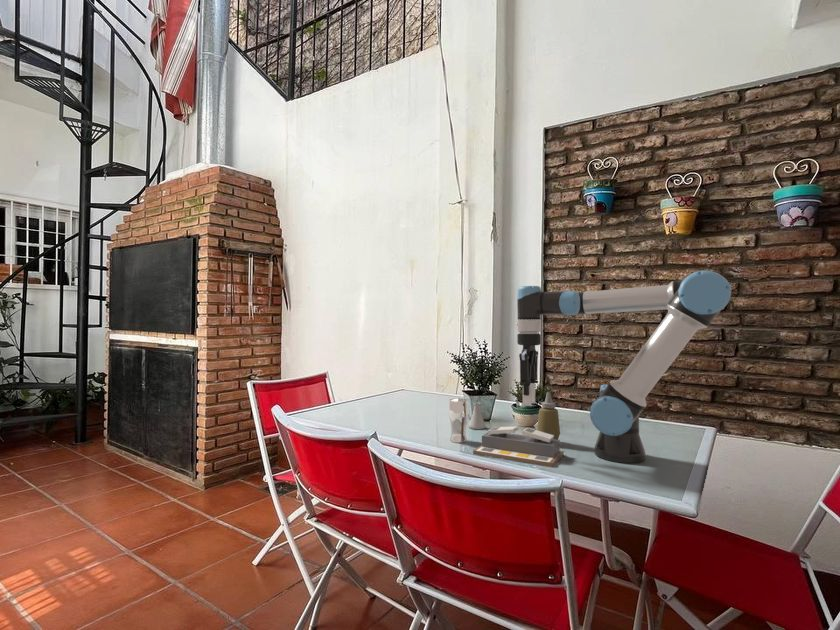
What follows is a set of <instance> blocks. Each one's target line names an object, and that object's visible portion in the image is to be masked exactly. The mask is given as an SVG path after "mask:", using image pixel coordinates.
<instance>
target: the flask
mask: <svg viewBox="0 0 840 630" xmlns="http://www.w3.org/2000/svg"><path fill="white" fill-rule="evenodd" d="M481 406H482V402H473V412H472V415H471V418H470V421H469V424H468V428H469V429H472V430H482V429H483V430H484V429H486V428H487V426H486V423H485V419H484V418H483V414H482V410H481Z"/></svg>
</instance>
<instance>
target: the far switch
mask: <svg viewBox="0 0 840 630" xmlns="http://www.w3.org/2000/svg"><path fill="white" fill-rule="evenodd" d="M518 430H519V426H518V425H516V426H514V425H513V426H497V427H492V428H489V429H488V430H487V433H488V434H503V433H511V434H515V432H517V431H518Z"/></svg>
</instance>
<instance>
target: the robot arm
mask: <svg viewBox="0 0 840 630" xmlns="http://www.w3.org/2000/svg"><path fill="white" fill-rule="evenodd" d="M731 296H732V288H731V284H730V282H729V281H728V279H727V278H725V277H724V276H723V275H722V274H720V273H718V272H715V271H714V270H713V271H712V270H698V271H695V272H694V271H693V272H692V273H691V274H688V275H687V276H686V277H684V278H683V279H681V280H673V281H671V282H670V283H669V284H662V285H650V286H639V287H637V286H636V287H627V288H626V287H625V288H615V289H603V290H592V291H591V290H589V291H574V290H572V291H571V290H562V291H559V290H558V291H542V288H541V286H540V285H522V286H520V287H519V288H518V289H517V299H516V301H517V304H516V305H517V307H516V308H517V322H516V323H515V325H516V326H517V335H516V337H517V340H516V341H517V345H520V346H522V350H521V353H519V355H518V357H519V379H520V380H519V381H520V382H519V385H520V386H522V406H530V407H531V406H532V404H536V384H538V383H539V381H538V367H539V365H538V363H539V361H538V360H539V351H537V350H536V346H541V345H542V335H541V331H542V324H541V323H542V320H541V319H542V315H543V316H550V315H551V316H552V315H553V316H556V315H557V316H575V315H589V314H590V315H591V314H592V315H593V314H606V313H607V314H608V313H627V312H643V311H644V312H645V311H661V310H663V311H664V310H667V313H666V315H665V316H664V318H663V319H662V321H661V322H660V324H659V325H658V326H657V327H656V329H655V330H654V331H653V333H652V334H651V336H650V337H649V338H648V340H647V341H646V342H645V344H644V345H643V346H642V347H641V349H640V350H639V351H638V353H637V354H636V356H635V357H634V358H633V359H632V361H631V362H630V364H628V367H627V368H626V369H625V370H624V372H623V373H622V374H621V376H620V377H619V378H618V379H616V380H611V381H609V383H608V384H602V385H600V388H599V394H600V395H599V396H598V398H596V399H595V400H594V401H593V402H592V404H591V405H590V409H589V410H590V411H589V418H590V421H591V423H592V425H593V426H594V427H595V429H597V431H599V433H598V436H597V439H596V442H595V444H594V455H595V456H596V457H598V458H599V459H600V458H601V459H603V460H606V461H610V462H617V463H621V464H622V463H625V464H630V463H631V464H633V463H634V464H637V463H641V462H644V461H646V450H645V447H644V444H643V441H642V439H641V436H640V435H641V434H640V414H641V413H642V412H643V410H644V409H646V407H647V401H646V400H647V399H646V398H647V397H648V395H649V394H650V392H651V391H652V390H653V389H654V387H655V386H656V385H657V383H658V381H660V379H661V378H662V377H663V375H665V372H667V370H668V369H669V368H670V366H671V365H672V364H673V363H674V362H675V360H676V359H677V357H679V355H680V353H681V352H682V351H683V349H684V348H685V347H686V346H687V344H688V343H689V342H690V340H692V337H694V335H695V334H696V333H697V331H699V330H700V329H701V330H702V329H703V330H704V329H707V328H708V327H709V326H710V325H711V323H712V322H713V321H714V320H715V318H716V317H717V316H718V315H719V314H720V312H721V311H722V310H723V309H724V308H725V307H727V305H728V304H729V302H730V301H731Z"/></svg>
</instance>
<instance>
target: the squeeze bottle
mask: <svg viewBox="0 0 840 630" xmlns="http://www.w3.org/2000/svg"><path fill="white" fill-rule="evenodd" d="M537 418H538V419H537V428H536V430H538V431H541V432H544V433H547V434H551V435H554V438H553V439H556V440H559V437H560V435H561V427H560V419H559V410H558V409H557V408H556V403H555V402H553V399H552V395H551V392H546V395H545V400H544V401H542V402H541V408H539V410H538V416H537Z"/></svg>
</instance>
